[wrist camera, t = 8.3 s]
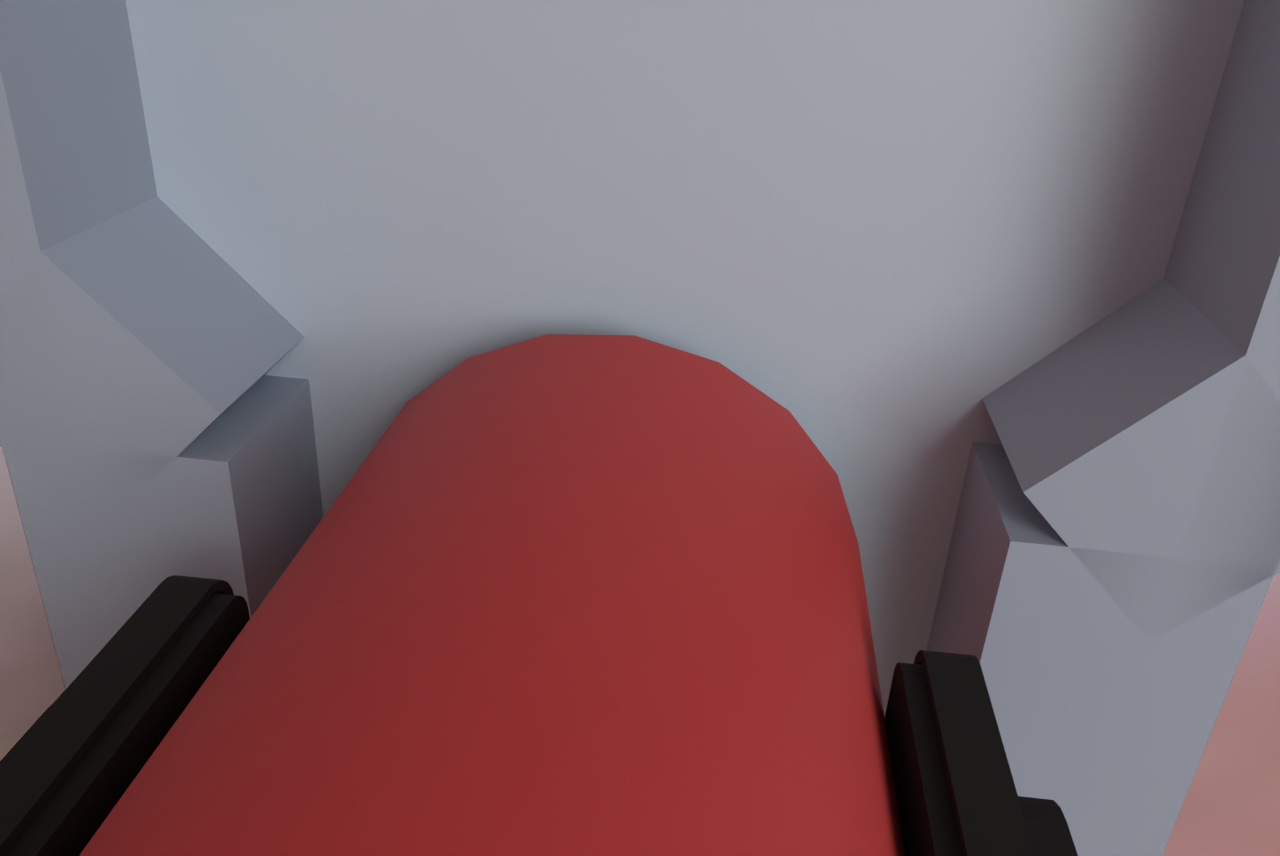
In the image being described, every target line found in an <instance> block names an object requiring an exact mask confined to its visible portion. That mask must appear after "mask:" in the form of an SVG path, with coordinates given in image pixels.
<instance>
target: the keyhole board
mask: <svg viewBox="0 0 1280 856" xmlns="http://www.w3.org/2000/svg"><path fill="white" fill-rule="evenodd" d="M545 334H577V335H635V336H638V337H641V338H644V339H647V340H651V341H654V342H657V343H660V344H663V345H666V346H669V347H673V348H676V349H679V350H682V351H685V352H688V353H691V354H695V355H698V356H701V357H704V358H707V359H710V360H713V361H717V362H719V363H721V364H722V365H724V366H725V367H727V368H728V369H730V370H731V371H732V372H734V373H735V374H737V375H738V376H740V377H741V378H743V379H744V380H745V381H747V382H748V383H750V384H751V385H753V386H754V387H756V388H757V389H758V390H760V391H761V392H763V393H764V394H766V395H767V396H769V397H770V398H771V399H773V400H774V401H776V402H777V403H779V404H780V405H782V406H783V407H784V408H786V409H787V410H789V411H790V412H791V414H792V415H793V416H794V418H795V419H796V420H797V422H798V423H799V424H800V426H801V427H802V428H803V430H804V431H805V432H806V434H807V435H808V436H809V437H810V439H811V440H812V441H813V443H814V444H815V445H816V447H817V448H818V449H819V451H820V452H821V453H822V455H823V456H824V457H825V459H826V460H827V461H828V463H829V464H830V465H831V467H832V468H833V469H834V471H835V472H836V473H837V475H838V478H839V482H840V485H841V488H842V491H843V495H844V498H845V501H846V505H847V508H848V511H849V514H850V518H851V521H852V524H853V527H854V531H855V534H856V537H857V541H858V544H859V551H860V557H861V564H862V571H863V577H864V584H865V591H866V597H867V604H868V611H869V617H870V624H871V631H872V637H873V644H874V651H875V657H876V664H877V671H878V677H879V684H880V690H881V697H882V704H883V710H884V717H885V714H886V708H887V703H888V698H889V693H890V688H891V683H892V678H893V673H894V669H895V666H896V664H897V663H898V662H900V663H909V664H914V660H915V656H916V654H917V652H918V651H920V650H925V651H935V652H945V653H955V654H965V655H974V656H976V657H977V658H978V660H979V663H980V665H981V669H982V672H983V676H984V679H985V682H986V686H987V689H988V693H989V696H990V700H991V703H992V707H993V710H994V714H995V717H996V721H997V724H998V728H999V731H1000V735H1001V738H1002V742H1003V745H1004V749H1005V752H1006V756H1007V759H1008V763H1009V766H1010V770H1011V773H1012V777H1013V780H1014V784H1015V787H1016V791H1017V794H1018V796H1022V797H1031V798H1040V799H1049V800H1054V801H1055V802H1056V803H1057V804H1058V805H1059V806H1060V807H1061V810H1062V812H1063V814H1064V817H1065V819H1066V821H1067V824H1068V827H1069V830H1070V833H1071V836H1072V839H1073V842H1074V845H1075V848H1076V851H1077V854H1078V856H1162V855H1163V853H1164V850H1165V848H1166V845H1167V842H1168V840H1169V837H1170V835H1171V832H1172V830H1173V827H1174V825H1175V822H1176V820H1177V817H1178V815H1179V812H1180V810H1181V807H1182V805H1183V802H1184V800H1185V797H1186V794H1187V792H1188V789H1189V787H1190V784H1191V782H1192V779H1193V777H1194V774H1195V772H1196V769H1197V767H1198V764H1199V762H1200V759H1201V757H1202V754H1203V752H1204V749H1205V747H1206V744H1207V741H1208V739H1209V736H1210V734H1211V731H1212V729H1213V726H1214V724H1215V721H1216V719H1217V716H1218V714H1219V711H1220V709H1221V706H1222V704H1223V701H1224V699H1225V696H1226V693H1227V691H1228V688H1229V686H1230V683H1231V681H1232V678H1233V676H1234V673H1235V671H1236V668H1237V666H1238V663H1239V661H1240V658H1241V656H1242V653H1243V651H1244V648H1245V645H1246V643H1247V640H1248V638H1249V635H1250V633H1251V630H1252V628H1253V625H1254V623H1255V620H1256V618H1257V615H1258V613H1259V610H1260V608H1261V605H1262V603H1263V600H1264V597H1265V595H1266V592H1267V590H1268V587H1269V585H1270V582H1271V580H1272V577H1273V576H1274V575H1276V574H1277V573H1279V572H1280V0H0V445H1V446H2V448H3V452H4V455H5V459H6V463H7V467H8V471H9V475H10V479H11V482H12V486H13V490H14V494H15V498H16V502H17V505H18V509H19V513H20V517H21V521H22V525H23V528H24V532H25V536H26V540H27V544H28V548H29V552H30V555H31V559H32V563H33V567H34V571H35V575H36V578H37V582H38V586H39V590H40V594H41V598H42V601H43V605H44V609H45V613H46V617H47V621H48V625H49V628H50V632H51V636H52V640H53V644H54V648H55V651H56V655H57V659H58V663H59V667H60V671H61V674H62V678H63V682H64V686H65V690H66V689H67V688H68V686H69V685H70V684H71V683H72V682H73V681H74V680H75V679H76V677H77V676H78V675H79V674H80V673H81V672H82V671H83V670H84V669H85V667H86V666H87V665H88V664H89V663H90V662H91V661H92V660H93V658H94V657H95V656H96V655H97V654H98V653H99V652H100V651H101V649H102V648H103V647H104V646H105V645H106V644H107V643H108V642H109V640H110V639H111V638H112V637H113V636H114V635H115V634H116V633H117V631H118V630H119V629H120V628H121V627H122V626H123V625H124V624H125V622H126V621H127V620H128V619H129V618H130V617H131V616H132V615H133V614H134V612H135V611H136V610H137V609H138V608H139V607H140V606H141V605H142V603H143V602H144V601H145V600H146V599H147V598H148V597H149V596H150V594H151V593H152V592H153V591H154V590H155V589H156V588H157V587H158V585H159V584H160V583H161V582H162V581H164V580H165V579H166V578H167V577H169V576H173V575H178V576H188V577H198V578H208V579H218V580H224V581H226V582H228V583H229V584H230V586H231V587H232V590H233V593H234V595H239V596H242V597H244V599H245V600H246V602H247V605H248V609H249V616H250V618H251V617H252V615H253V614H254V613H255V611H256V610H257V608H258V607H259V606H260V604H261V603H262V602H263V600H264V599H265V597H266V596H267V595H268V593H269V592H270V590H271V589H272V588H273V586H274V585H275V584H276V582H277V581H278V579H279V578H280V577H281V575H282V574H283V572H284V571H285V570H286V568H287V567H288V566H289V564H290V563H291V561H292V560H293V559H294V557H295V556H296V554H297V553H298V552H299V550H300V549H301V548H302V546H303V545H304V543H305V542H306V541H307V539H308V538H309V536H310V535H311V534H312V532H313V531H314V530H315V528H316V527H317V525H318V524H319V523H320V521H321V520H322V518H323V517H324V516H325V514H326V513H327V512H328V510H329V509H330V507H331V506H332V505H333V503H334V502H335V500H336V499H337V498H338V496H339V495H340V494H341V492H342V491H343V489H344V488H345V487H346V485H347V484H348V482H349V481H350V480H351V478H352V477H353V476H354V474H355V473H356V471H357V470H358V469H359V467H360V466H361V464H362V463H363V462H364V460H365V459H366V458H367V456H368V455H369V453H370V452H371V451H372V449H373V448H374V446H375V445H376V444H377V442H378V441H379V440H380V438H381V437H382V435H383V434H384V433H385V431H386V430H387V428H388V427H389V426H390V424H391V423H392V422H393V420H394V419H395V417H396V416H397V415H398V413H399V412H400V410H401V409H402V408H403V406H404V405H405V404H406V402H407V401H409V400H410V399H412V398H413V397H414V396H416V395H417V394H418V393H420V392H421V391H423V390H424V389H425V388H427V387H428V386H430V385H431V384H432V383H434V382H435V381H436V380H438V379H439V378H441V377H442V376H443V375H445V374H446V373H447V372H449V371H450V370H452V369H453V368H454V367H456V366H457V365H459V364H460V363H461V362H463V361H464V360H465V359H467V358H469V357H472V356H475V355H479V354H482V353H485V352H489V351H492V350H495V349H499V348H502V347H505V346H509V345H512V344H515V343H519V342H522V341H525V340H529V339H532V338H535V337H539V336H542V335H545Z"/></svg>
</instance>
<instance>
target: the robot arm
mask: <svg viewBox="0 0 1280 856" xmlns="http://www.w3.org/2000/svg"><path fill="white" fill-rule="evenodd" d="M249 620H250V616H249V609H248V605H247V602H246V600H245V599H244V597H242V596H239V595H234V593H233V590H232V587H231V586H230V584H229V583H228V582H226V581H224V580H218V579H208V578H198V577H188V576H178V575H173V576H169V577H167V578H166V579H165V580H164V581H162V582H161V583H160V584H159V585H158V587H157V588H156V589H155V590H154V591H153V592H152V593H151V594H150V596H149V597H148V598H147V599H146V600H145V601H144V602H143V603H142V605H141V606H140V607H139V608H138V609H137V610H136V611H135V612H134V614H133V615H132V616H131V617H130V618H129V619H128V620H127V621H126V622H125V624H124V625H123V626H122V627H121V628H120V629H119V630H118V631H117V633H116V634H115V635H114V636H113V637H112V638H111V639H110V640H109V642H108V643H107V644H106V645H105V646H104V647H103V648H102V649H101V651H100V652H99V653H98V654H97V655H96V656H95V657H94V658H93V660H92V661H91V662H90V663H89V664H88V665H87V666H86V667H85V669H84V670H83V671H82V672H81V673H80V674H79V675H78V676H77V677H76V679H75V680H74V681H73V682H72V683H71V684H70V685H69V686H68V688H67V689H66V690H65V691H64V692H63V693H62V694H61V695H60V697H59V698H58V699H57V700H56V701H55V702H54V703H53V704H52V705H51V706H50V707H49V708H48V709H47V710H46V711H45V712H44V713H43V714H42V715H41V716H40V718H39V719H38V720H37V721H36V722H35V723H34V724H33V725H32V727H31V728H30V729H29V730H28V731H27V732H26V733H25V734H24V736H23V737H22V738H21V739H20V740H19V741H18V742H17V743H16V745H15V746H14V747H13V748H12V749H11V750H10V751H9V752H8V753H7V755H6V756H5V757H4V758H3V759H2V760H1V761H0V856H79V855H80V854H81V852H82V851H83V849H84V848H85V847H86V845H87V844H88V843H89V841H90V840H91V838H92V837H93V836H94V834H95V833H96V831H97V830H98V829H99V827H100V826H101V825H102V823H103V822H104V820H105V819H106V818H107V816H108V815H109V813H110V812H111V811H112V809H113V808H114V807H115V805H116V804H117V802H118V801H119V800H120V798H121V797H122V795H123V794H124V793H125V791H126V790H127V789H128V787H129V786H130V784H131V783H132V782H133V780H134V779H135V777H136V776H137V775H138V773H139V772H140V771H141V769H142V768H143V766H144V765H145V764H146V762H147V761H148V759H149V758H150V757H151V755H152V754H153V753H154V751H155V750H156V748H157V747H158V746H159V744H160V743H161V741H162V740H163V739H164V737H165V736H166V735H167V733H168V732H169V730H170V729H171V728H172V726H173V725H174V723H175V722H176V721H177V719H178V718H179V717H180V715H181V714H182V712H183V711H184V710H185V708H186V707H187V705H188V704H189V703H190V701H191V700H192V699H193V697H194V696H195V694H196V693H197V692H198V690H199V689H200V687H201V686H202V685H203V683H204V682H205V681H206V679H207V678H208V676H209V675H210V674H211V672H212V671H213V669H214V668H215V667H216V665H217V664H218V663H219V661H220V660H221V658H222V657H223V656H224V654H225V653H226V651H227V650H228V649H229V647H230V646H231V644H232V643H233V642H234V640H235V639H236V638H237V636H238V635H239V633H240V632H241V631H242V629H243V628H244V626H245V625H246V624H247V622H248V621H249ZM885 724H886V730H887V737H888V744H889V750H890V757H891V764H892V770H893V777H894V784H895V790H896V797H897V804H898V810H899V817H900V824H901V830H902V837H903V843H904V850H905V856H1078V854H1077V851H1076V848H1075V845H1074V842H1073V839H1072V836H1071V833H1070V830H1069V827H1068V824H1067V821H1066V819H1065V817H1064V814H1063V812H1062V810H1061V807H1060V806H1059V805H1058V804H1057V803H1056V802H1055V801H1054V800H1049V799H1040V798H1031V797H1022V796H1018V794H1017V791H1016V787H1015V784H1014V780H1013V777H1012V773H1011V770H1010V766H1009V763H1008V759H1007V756H1006V752H1005V749H1004V745H1003V742H1002V738H1001V735H1000V731H999V728H998V724H997V721H996V717H995V714H994V710H993V707H992V703H991V700H990V696H989V693H988V689H987V686H986V682H985V679H984V676H983V672H982V669H981V665H980V663H979V660H978V658H977V657H976V656H974V655H965V654H955V653H945V652H935V651H925V650H920V651H918V652H917V654H916V656H915V660H914V664H909V663H900V662H898V663H897V664H896V666H895V669H894V673H893V678H892V683H891V688H890V693H889V698H888V703H887V708H886V714H885Z"/></svg>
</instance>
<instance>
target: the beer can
mask: <svg viewBox="0 0 1280 856" xmlns="http://www.w3.org/2000/svg"><path fill="white" fill-rule="evenodd" d="M79 856H905V850H904V843H903V837H902V830H901V824H900V817H899V810H898V804H897V797H896V790H895V784H894V777H893V770H892V764H891V757H890V750H889V744H888V737H887V730H886V724H885V717H884V710H883V704H882V697H881V690H880V684H879V677H878V671H877V664H876V657H875V651H874V644H873V637H872V631H871V624H870V617H869V611H868V604H867V597H866V591H865V584H864V577H863V571H862V564H861V557H860V551H859V544H858V541H857V537H856V534H855V531H854V527H853V524H852V521H851V518H850V514H849V511H848V508H847V505H846V501H845V498H844V495H843V491H842V488H841V485H840V482H839V478H838V475H837V473H836V472H835V471H834V469H833V468H832V467H831V465H830V464H829V463H828V461H827V460H826V459H825V457H824V456H823V455H822V453H821V452H820V451H819V449H818V448H817V447H816V445H815V444H814V443H813V441H812V440H811V439H810V437H809V436H808V435H807V434H806V432H805V431H804V430H803V428H802V427H801V426H800V424H799V423H798V422H797V420H796V419H795V418H794V416H793V415H792V414H791V412H790V411H789V410H787V409H786V408H784V407H783V406H782V405H780V404H779V403H777V402H776V401H774V400H773V399H771V398H770V397H769V396H767V395H766V394H764V393H763V392H761V391H760V390H758V389H757V388H756V387H754V386H753V385H751V384H750V383H748V382H747V381H745V380H744V379H743V378H741V377H740V376H738V375H737V374H735V373H734V372H732V371H731V370H730V369H728V368H727V367H725V366H724V365H722V364H721V363H719V362H717V361H713V360H710V359H707V358H704V357H701V356H698V355H695V354H691V353H688V352H685V351H682V350H679V349H676V348H673V347H669V346H666V345H663V344H660V343H657V342H654V341H651V340H647V339H644V338H641V337H638V336H635V335H577V334H545V335H542V336H539V337H535V338H532V339H529V340H525V341H522V342H519V343H515V344H512V345H509V346H505V347H502V348H499V349H495V350H492V351H489V352H485V353H482V354H479V355H475V356H472V357H469V358H467V359H465V360H464V361H463V362H461V363H460V364H459V365H457V366H456V367H454V368H453V369H452V370H450V371H449V372H447V373H446V374H445V375H443V376H442V377H441V378H439V379H438V380H436V381H435V382H434V383H432V384H431V385H430V386H428V387H427V388H425V389H424V390H423V391H421V392H420V393H418V394H417V395H416V396H414V397H413V398H412V399H410V400H409V401H407V402H406V404H405V405H404V406H403V408H402V409H401V410H400V412H399V413H398V415H397V416H396V417H395V419H394V420H393V422H392V423H391V424H390V426H389V427H388V428H387V430H386V431H385V433H384V434H383V435H382V437H381V438H380V440H379V441H378V442H377V444H376V445H375V446H374V448H373V449H372V451H371V452H370V453H369V455H368V456H367V458H366V459H365V460H364V462H363V463H362V464H361V466H360V467H359V469H358V470H357V471H356V473H355V474H354V476H353V477H352V478H351V480H350V481H349V482H348V484H347V485H346V487H345V488H344V489H343V491H342V492H341V494H340V495H339V496H338V498H337V499H336V500H335V502H334V503H333V505H332V506H331V507H330V509H329V510H328V512H327V513H326V514H325V516H324V517H323V518H322V520H321V521H320V523H319V524H318V525H317V527H316V528H315V530H314V531H313V532H312V534H311V535H310V536H309V538H308V539H307V541H306V542H305V543H304V545H303V546H302V548H301V549H300V550H299V552H298V553H297V554H296V556H295V557H294V559H293V560H292V561H291V563H290V564H289V566H288V567H287V568H286V570H285V571H284V572H283V574H282V575H281V577H280V578H279V579H278V581H277V582H276V584H275V585H274V586H273V588H272V589H271V590H270V592H269V593H268V595H267V596H266V597H265V599H264V600H263V602H262V603H261V604H260V606H259V607H258V608H257V610H256V611H255V613H254V614H253V615H252V617H251V618H250V620H249V621H248V622H247V624H246V625H245V626H244V628H243V629H242V631H241V632H240V633H239V635H238V636H237V638H236V639H235V640H234V642H233V643H232V644H231V646H230V647H229V649H228V650H227V651H226V653H225V654H224V656H223V657H222V658H221V660H220V661H219V663H218V664H217V665H216V667H215V668H214V669H213V671H212V672H211V674H210V675H209V676H208V678H207V679H206V681H205V682H204V683H203V685H202V686H201V687H200V689H199V690H198V692H197V693H196V694H195V696H194V697H193V699H192V700H191V701H190V703H189V704H188V705H187V707H186V708H185V710H184V711H183V712H182V714H181V715H180V717H179V718H178V719H177V721H176V722H175V723H174V725H173V726H172V728H171V729H170V730H169V732H168V733H167V735H166V736H165V737H164V739H163V740H162V741H161V743H160V744H159V746H158V747H157V748H156V750H155V751H154V753H153V754H152V755H151V757H150V758H149V759H148V761H147V762H146V764H145V765H144V766H143V768H142V769H141V771H140V772H139V773H138V775H137V776H136V777H135V779H134V780H133V782H132V783H131V784H130V786H129V787H128V789H127V790H126V791H125V793H124V794H123V795H122V797H121V798H120V800H119V801H118V802H117V804H116V805H115V807H114V808H113V809H112V811H111V812H110V813H109V815H108V816H107V818H106V819H105V820H104V822H103V823H102V825H101V826H100V827H99V829H98V830H97V831H96V833H95V834H94V836H93V837H92V838H91V840H90V841H89V843H88V844H87V845H86V847H85V848H84V849H83V851H82V852H81V854H80V855H79Z"/></svg>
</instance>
